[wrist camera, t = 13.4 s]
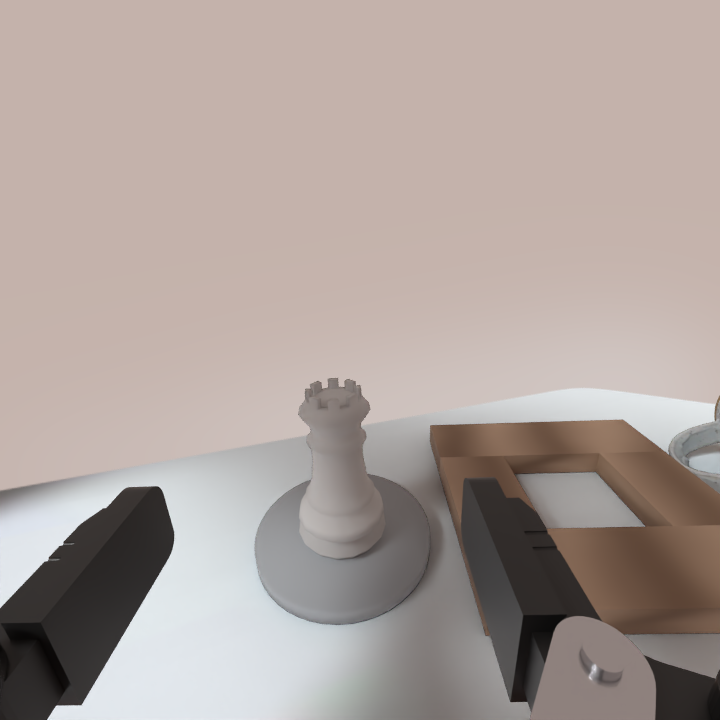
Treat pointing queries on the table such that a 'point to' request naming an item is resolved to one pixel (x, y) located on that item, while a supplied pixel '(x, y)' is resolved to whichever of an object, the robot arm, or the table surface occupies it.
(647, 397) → the table surface
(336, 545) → the rook chess piece
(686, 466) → the ceramic mug
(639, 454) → the walnut frame
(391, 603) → the slate-grey pad
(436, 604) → the table surface
